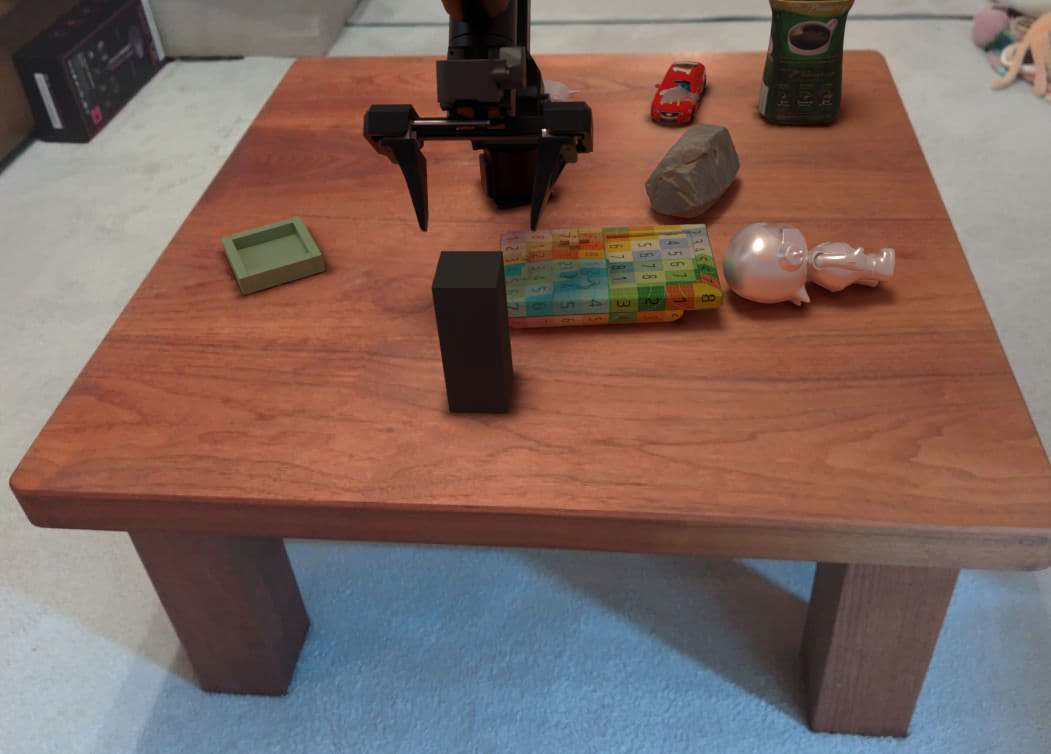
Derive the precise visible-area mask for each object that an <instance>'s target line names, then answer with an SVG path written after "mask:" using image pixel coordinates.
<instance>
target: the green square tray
mask: <svg viewBox="0 0 1051 754" xmlns="http://www.w3.org/2000/svg"><path fill="white" fill-rule="evenodd" d="M220 241H221V244H222V247H223V251H224V254H225V256H226V258H227V260H228V263H229V265H230V268H231V270H232V272H233V274H234V277H235V279H236V281H237V283H238V286H239V288H240V290H241V292H242V295H243V296H246V295H249V294H252V293H256V292H259V291H262V290H267V289H269V288H273V287H277V286H279V285H283V284H285V283H289V282H293V281H296V280H299V279H302V278H306V277H309V276H313V275H315V274H320V273H323V272H325V271H326V266H325V261H324V256H323V253H322V252H321V250H320V248H319V247H318V245H317V243H316V241H315V240H314V238H313V237H312V234H311V233H310V232H309V230H308V228H307V226H306V224H305V223H304V220H303V219H302V217H301V216H300V215H297V216H293V217H291V218H286V219H282V220H279V221H276V222H272V223H268V224H265V225H260V226H258V227H254V228H251V229H247V230H243V231H240V232H236V233H233V234H230V235H225V236H222V237H220Z"/></svg>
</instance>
